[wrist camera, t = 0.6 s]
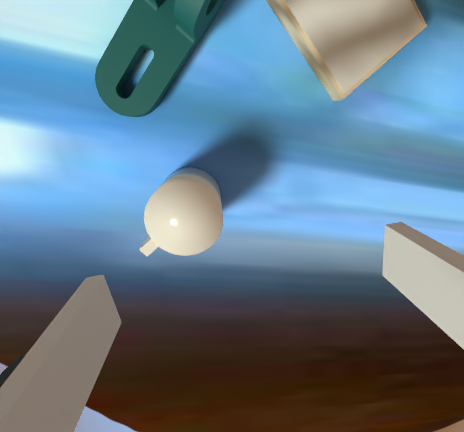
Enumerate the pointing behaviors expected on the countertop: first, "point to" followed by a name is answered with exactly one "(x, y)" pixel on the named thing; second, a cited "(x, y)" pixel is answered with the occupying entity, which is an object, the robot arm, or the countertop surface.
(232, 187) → the countertop surface
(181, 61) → the bracket
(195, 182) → the mug
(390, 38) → the tray
